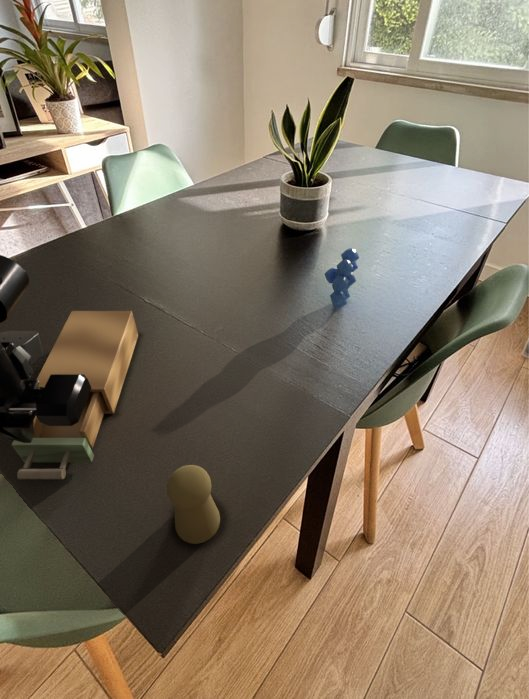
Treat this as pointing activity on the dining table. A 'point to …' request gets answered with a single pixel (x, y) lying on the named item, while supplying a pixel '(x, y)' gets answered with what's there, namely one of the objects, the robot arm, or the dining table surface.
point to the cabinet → (95, 351)
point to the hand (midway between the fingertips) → (29, 439)
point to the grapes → (342, 277)
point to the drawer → (62, 442)
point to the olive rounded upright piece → (193, 504)
